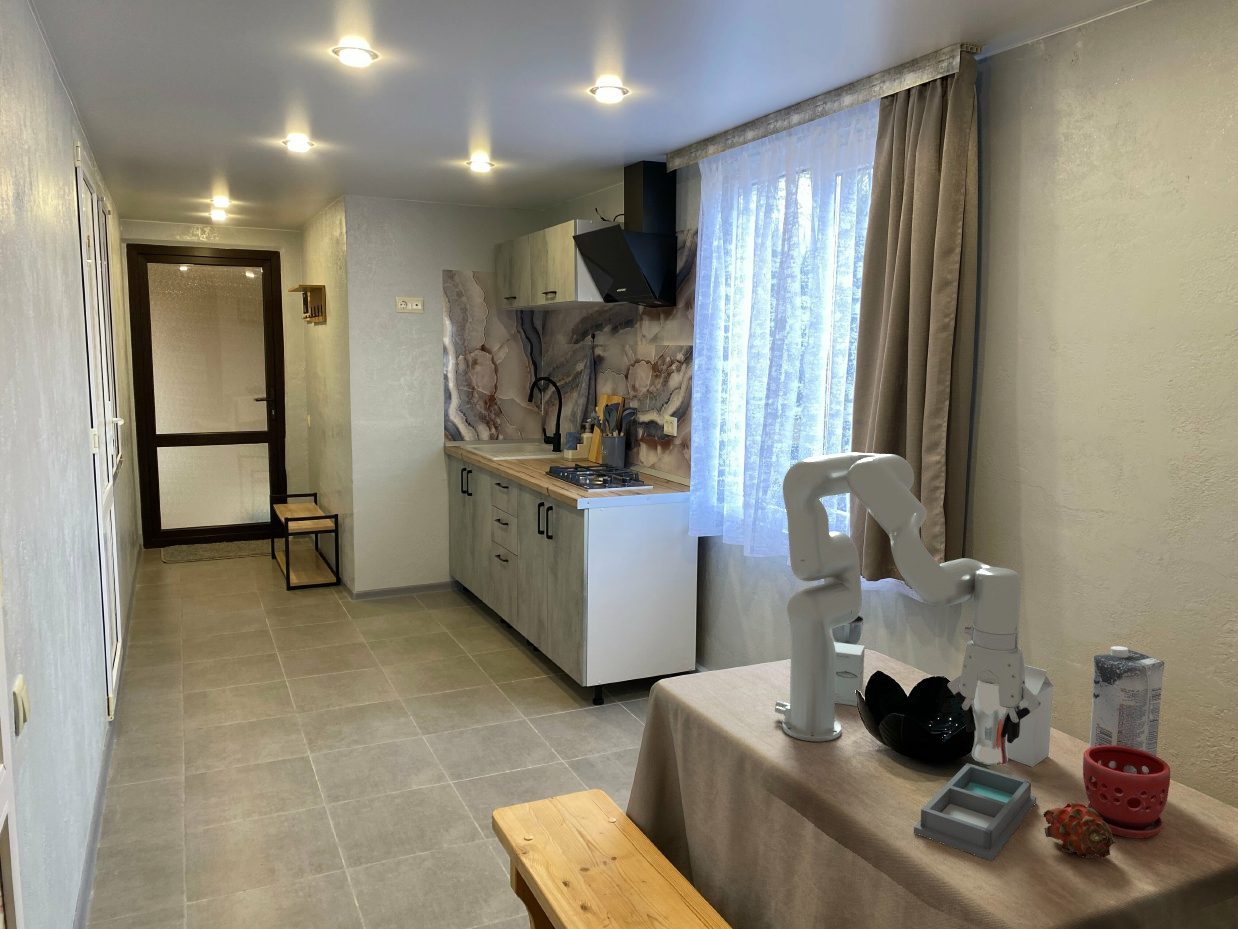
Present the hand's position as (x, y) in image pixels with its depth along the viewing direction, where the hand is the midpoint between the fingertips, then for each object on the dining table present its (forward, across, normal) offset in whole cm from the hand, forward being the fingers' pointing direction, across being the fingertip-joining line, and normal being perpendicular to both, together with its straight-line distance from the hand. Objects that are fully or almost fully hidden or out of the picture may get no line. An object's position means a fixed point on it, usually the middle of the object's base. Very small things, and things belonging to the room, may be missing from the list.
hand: (991, 734), depth 161 cm
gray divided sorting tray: (+14, 0, -5) cm, 15 cm away
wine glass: (+14, -49, +43) cm, 67 cm away
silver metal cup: (+5, 0, 0) cm, 5 cm away
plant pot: (+14, +20, +9) cm, 26 cm away
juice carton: (+14, +17, +22) cm, 31 cm away
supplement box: (+14, -42, +29) cm, 53 cm away
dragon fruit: (+14, +16, -5) cm, 22 cm away
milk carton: (+14, -1, +25) cm, 28 cm away
